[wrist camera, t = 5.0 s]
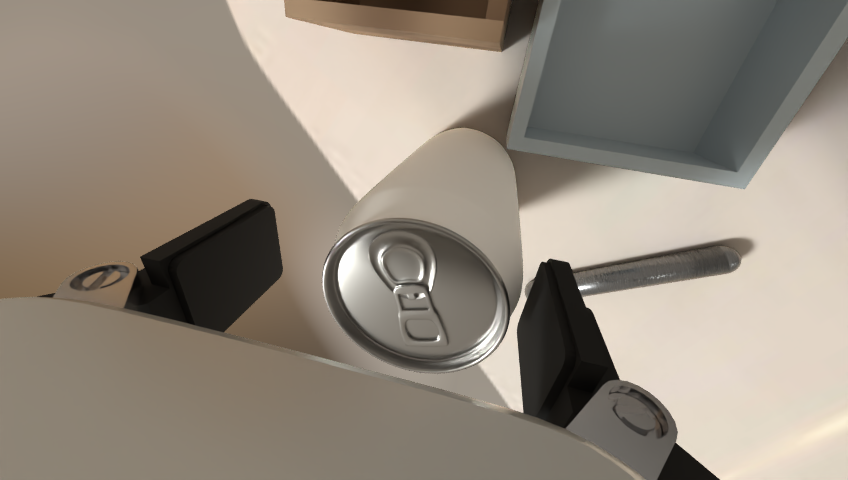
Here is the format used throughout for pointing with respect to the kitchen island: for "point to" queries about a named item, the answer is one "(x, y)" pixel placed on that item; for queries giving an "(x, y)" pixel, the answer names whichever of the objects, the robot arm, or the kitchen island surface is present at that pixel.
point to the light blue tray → (671, 82)
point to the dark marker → (656, 270)
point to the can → (431, 257)
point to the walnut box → (412, 19)
